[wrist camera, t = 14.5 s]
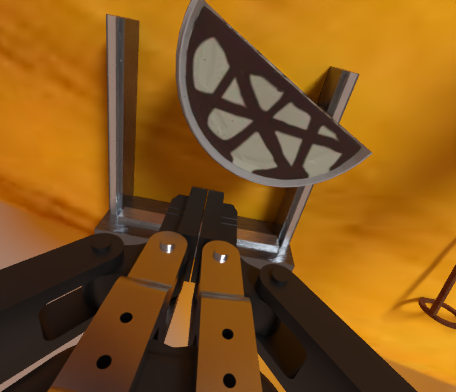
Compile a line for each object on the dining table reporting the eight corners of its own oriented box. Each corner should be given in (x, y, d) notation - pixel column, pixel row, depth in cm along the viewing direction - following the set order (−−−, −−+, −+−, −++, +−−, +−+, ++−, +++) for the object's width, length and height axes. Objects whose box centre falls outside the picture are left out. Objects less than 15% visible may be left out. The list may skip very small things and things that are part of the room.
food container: (167, 79, 22) (121, 106, 14) (210, 8, 20) (187, -16, 11) (278, 165, 26) (297, 230, 17) (327, 114, 23) (379, 159, 15)
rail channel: (123, 17, 20) (83, 9, 15) (344, 69, 22) (378, 79, 16) (121, 203, 29) (95, 239, 23) (281, 233, 30) (290, 275, 25)
